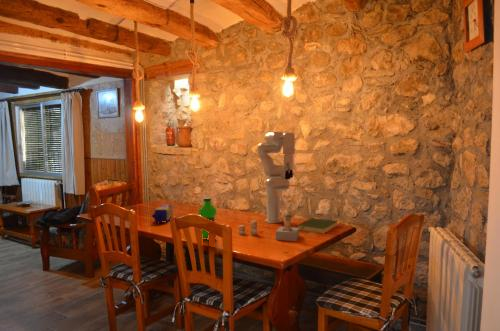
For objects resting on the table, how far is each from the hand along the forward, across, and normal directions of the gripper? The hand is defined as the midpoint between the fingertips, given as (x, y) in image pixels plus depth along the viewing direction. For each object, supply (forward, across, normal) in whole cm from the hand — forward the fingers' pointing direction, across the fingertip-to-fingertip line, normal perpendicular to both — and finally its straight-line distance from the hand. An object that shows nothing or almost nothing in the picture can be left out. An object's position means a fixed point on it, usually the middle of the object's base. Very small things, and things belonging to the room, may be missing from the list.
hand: (289, 178), depth 240 cm
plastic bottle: (+34, +31, -44) cm, 64 cm away
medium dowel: (+34, +14, -20) cm, 42 cm away
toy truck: (+35, -10, -97) cm, 103 cm away
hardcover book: (+35, -12, +17) cm, 41 cm away
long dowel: (+34, +17, +2) cm, 38 cm away
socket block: (+34, +17, +2) cm, 38 cm away
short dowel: (+34, +14, -28) cm, 46 cm away
